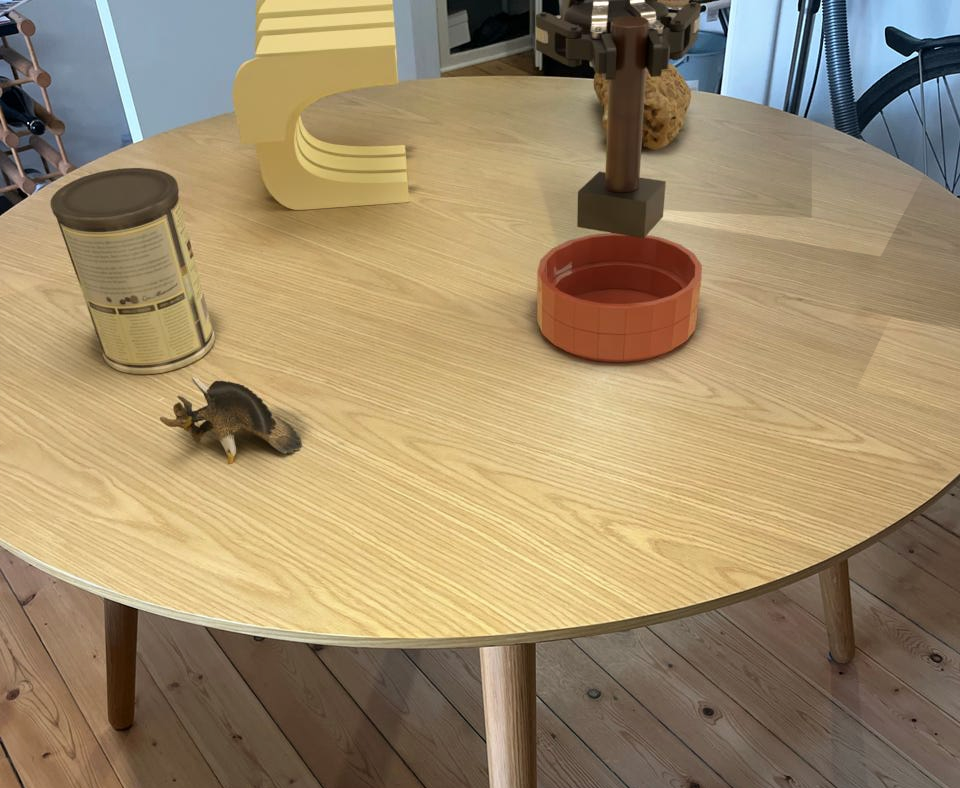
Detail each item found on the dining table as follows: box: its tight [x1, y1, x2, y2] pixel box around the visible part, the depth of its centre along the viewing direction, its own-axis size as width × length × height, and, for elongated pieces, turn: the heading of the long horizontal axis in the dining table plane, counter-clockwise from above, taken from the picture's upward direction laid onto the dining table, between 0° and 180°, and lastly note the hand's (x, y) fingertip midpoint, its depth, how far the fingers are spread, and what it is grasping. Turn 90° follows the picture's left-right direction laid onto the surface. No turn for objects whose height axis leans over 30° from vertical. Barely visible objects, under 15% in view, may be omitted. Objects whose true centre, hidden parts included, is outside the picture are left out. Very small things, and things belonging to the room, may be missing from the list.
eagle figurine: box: [159, 376, 303, 464], centre depth 80 cm, size 8×7×9 cm
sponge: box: [593, 62, 692, 151], centre depth 126 cm, size 13×8×20 cm
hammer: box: [576, 16, 667, 238], centre depth 81 cm, size 6×4×15 cm
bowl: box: [536, 232, 703, 363], centre depth 91 cm, size 14×14×6 cm
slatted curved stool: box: [231, 0, 410, 211], centre depth 113 cm, size 30×16×18 cm, turn 4°
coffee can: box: [49, 167, 216, 375], centre depth 89 cm, size 10×10×14 cm
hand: (634, 63), depth 75 cm, fingers closed on hammer, 3 cm apart
